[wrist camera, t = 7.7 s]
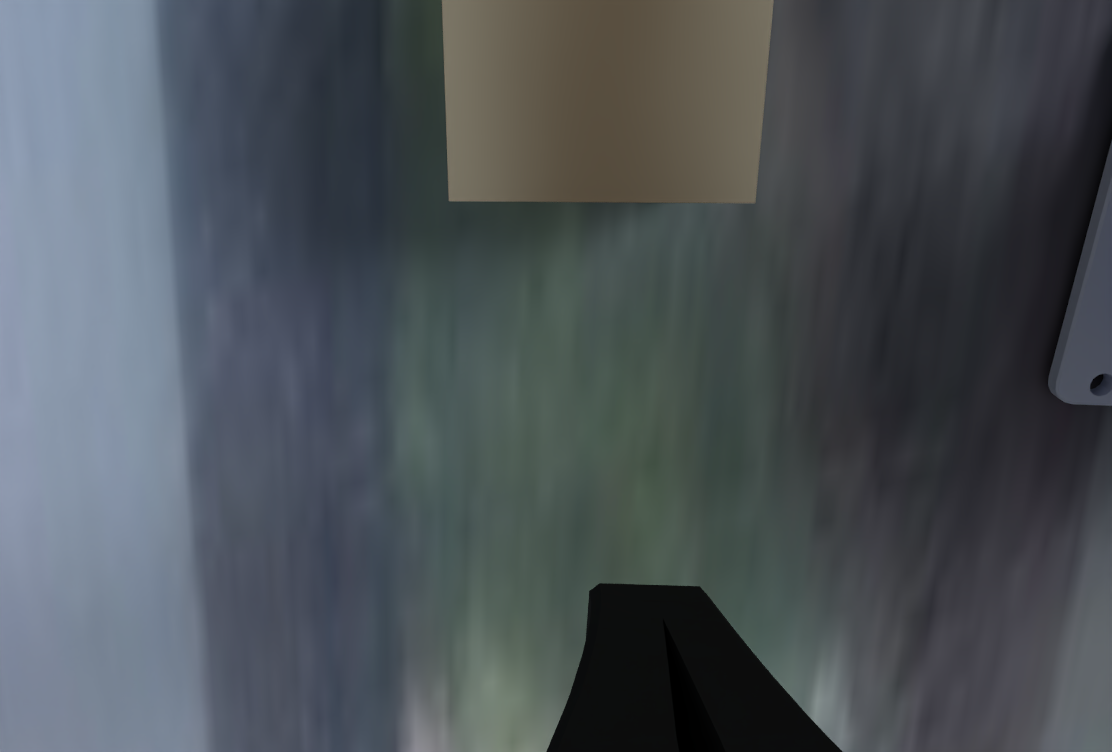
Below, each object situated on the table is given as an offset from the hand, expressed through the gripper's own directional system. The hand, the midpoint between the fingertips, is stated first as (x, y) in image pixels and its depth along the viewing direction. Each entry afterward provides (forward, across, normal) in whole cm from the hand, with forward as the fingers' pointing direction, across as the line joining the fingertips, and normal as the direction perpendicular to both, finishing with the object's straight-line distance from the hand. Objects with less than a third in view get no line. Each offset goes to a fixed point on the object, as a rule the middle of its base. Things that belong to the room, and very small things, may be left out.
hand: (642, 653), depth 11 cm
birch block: (+10, 0, -7) cm, 12 cm away
